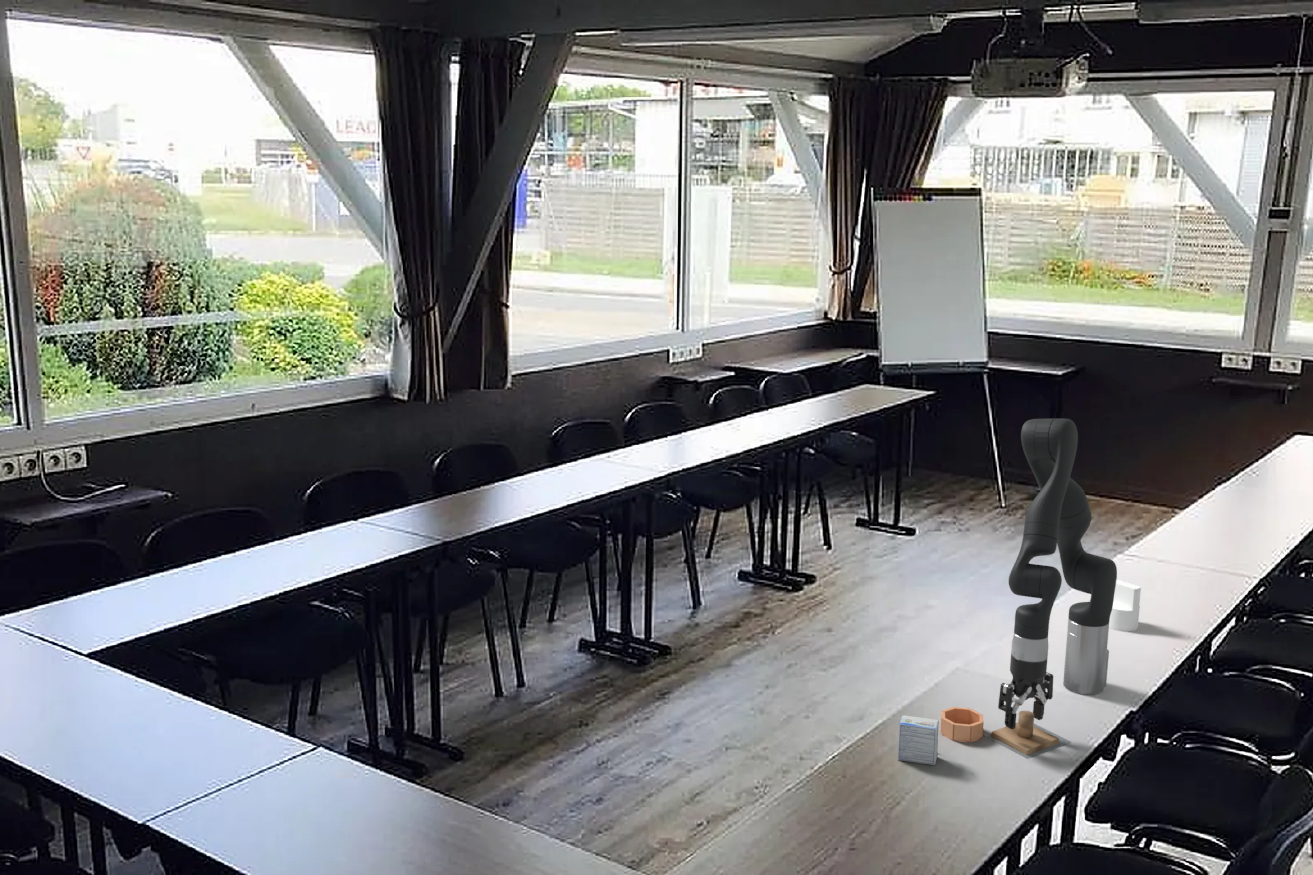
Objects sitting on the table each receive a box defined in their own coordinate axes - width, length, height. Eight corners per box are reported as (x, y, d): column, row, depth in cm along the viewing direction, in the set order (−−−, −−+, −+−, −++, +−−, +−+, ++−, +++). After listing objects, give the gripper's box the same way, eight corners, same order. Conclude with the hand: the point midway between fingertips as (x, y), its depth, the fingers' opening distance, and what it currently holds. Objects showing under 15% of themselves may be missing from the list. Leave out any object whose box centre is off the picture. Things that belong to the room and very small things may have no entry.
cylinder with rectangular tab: (1144, 626, 325) (1148, 585, 322) (1124, 634, 320) (1128, 591, 317) (1115, 616, 332) (1119, 575, 330) (1095, 623, 327) (1099, 582, 325)
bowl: (960, 722, 270) (961, 704, 269) (990, 738, 263) (992, 719, 262) (931, 732, 266) (932, 713, 265) (961, 748, 258) (962, 729, 257)
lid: (1022, 725, 267) (1024, 700, 266) (1058, 743, 259) (1060, 717, 257) (991, 736, 262) (992, 710, 261) (1026, 755, 254) (1028, 728, 252)
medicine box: (937, 756, 254) (939, 719, 252) (935, 766, 250) (937, 728, 248) (900, 751, 257) (901, 714, 255) (897, 760, 253) (899, 723, 251)
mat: (1028, 722, 270) (1028, 720, 270) (1071, 744, 260) (1071, 741, 260) (984, 738, 262) (984, 736, 262) (1026, 760, 253) (1027, 758, 252)
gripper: (1038, 641, 263) (1033, 709, 266) (992, 654, 256) (987, 724, 259) (1065, 652, 256) (1060, 722, 260) (1019, 666, 249) (1014, 737, 253)
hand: (1023, 723), depth 260 cm, fingers open, 8 cm apart
